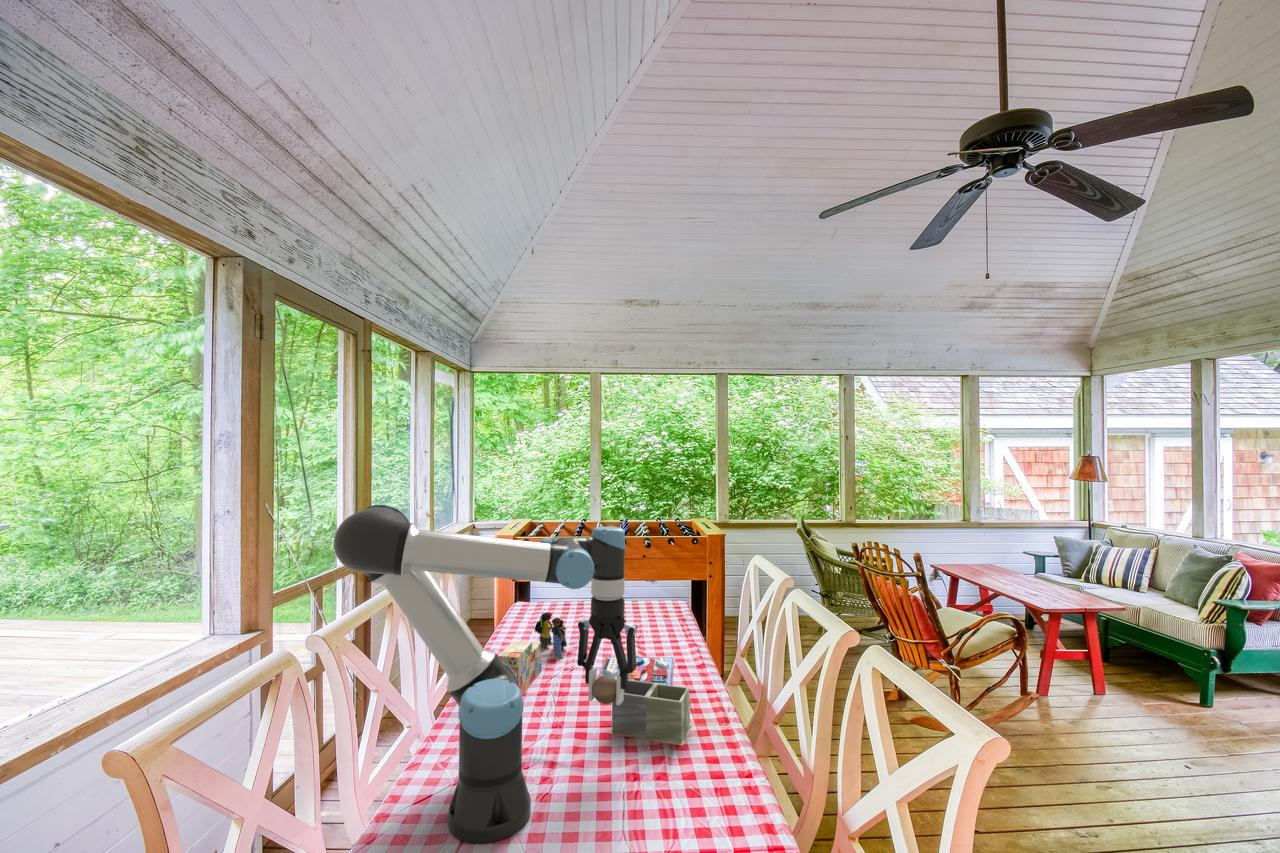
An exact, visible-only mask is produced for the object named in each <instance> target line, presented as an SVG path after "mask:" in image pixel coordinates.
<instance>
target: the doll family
mask: <svg viewBox="0 0 1280 853" xmlns="http://www.w3.org/2000/svg"><path fill="white" fill-rule="evenodd" d="M552 616H553V615H552V612H548V611H547V612H543V613H542V614H541V616H540V618H539V620H537V621H534V620H533V623H536V624H535V626H534V627H532V628H531V629H532V630H533V631H534V632H536V633H537V634H539V642H541V651H544V652H545V651H549V650H550V647H549V646H553V650H554V651H553V652H554V654H553V658H555V659H556V660H564V659H565V656H564V655H563V654H565V653H568V650H567V649H565V648H566V647H568V646H567V640H566V635H567V633H566V631H567V629H569V626H565V625H564V620H563V619H561V618H560V617H555V618H553V619H552ZM551 619H552V620H551ZM550 620H551V621H550ZM550 632H551V633H552V636H551V634H550Z"/></svg>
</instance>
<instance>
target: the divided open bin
mask: <svg viewBox="0 0 1280 853" xmlns="http://www.w3.org/2000/svg"><path fill="white" fill-rule="evenodd" d="M690 696H691V695H690V687H688V686H681V685H673V684H672V685H666V684H659V683H651V682H643V681H636V680H628V685H627V687H626V688H625V689H624V701H623V702H622V703H621V704H620V705H616V700H615V701H614V702H612V703H611V730H610V731H609V733H608V734H611V735H617V736H621V737H622V736H623V737H629V738H635V739H640V740H646V741H652V742H657V743H665V744H669V745H671V744H672V745H676V746H682V747H683V746H684V744H685V742H686V740H687V738H688V736H689V734H690V732H691V730H692V728H693V725H690V724H691V723H690V720H691V718H690V716H691V715H690V714H691V711H690V706H691V705H690V702H691V701H690Z"/></svg>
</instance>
